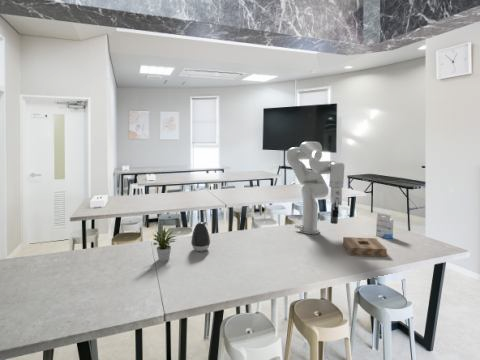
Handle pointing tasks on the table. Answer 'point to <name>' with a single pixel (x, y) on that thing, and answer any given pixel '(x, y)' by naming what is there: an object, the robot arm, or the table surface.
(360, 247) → the socket
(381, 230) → the ink box
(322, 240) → the table surface
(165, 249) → the house plant
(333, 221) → the peg
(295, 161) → the robot arm
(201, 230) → the dark grey egg shape
